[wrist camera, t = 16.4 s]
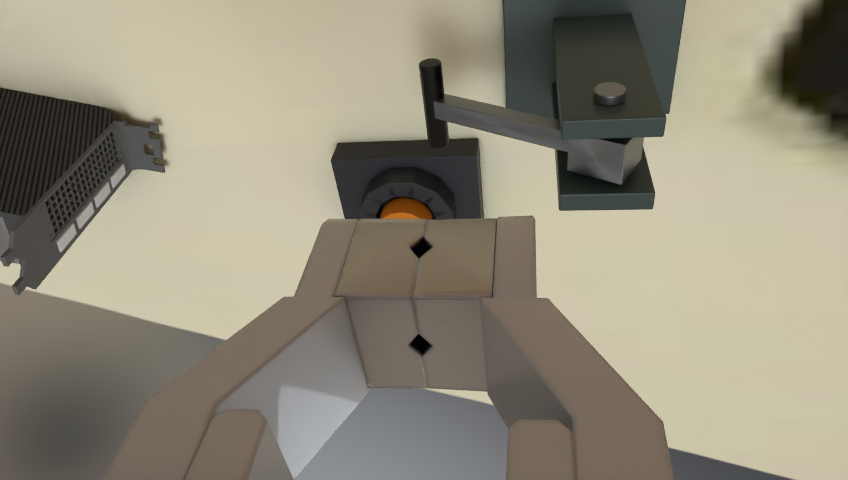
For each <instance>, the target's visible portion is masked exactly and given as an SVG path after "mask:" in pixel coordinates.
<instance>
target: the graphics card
mask: <svg viewBox="0 0 848 480" xmlns="http://www.w3.org/2000/svg"><path fill="white" fill-rule="evenodd" d="M149 131H153V132H159V128H158V124H155V123H150V127H145V126H139V125H129V124H126V120H123V121H116V120H115V117H114V116H113V115H112V114H111V113H110V112H109V111H108V110H106V109H104V108H100V107H95V106H90V105H86V104H81V103H76V102H75V103H74V102H71V101H70V102H69V101H64V100H58V99H54V98H49V97H45V96H43V97H42V96H39V95H38V96H37V95H32V94H26V93H22V92H17V91H13V90H11V91H10V90H7V89H6V90H5V89H0V260H1V261H2V263H3V266H7V267H8V266H9V265H10V264H11V263H18V264H20V265H21V270H20V277H19V279H18V280H17V281H16V282H15V283H14V284H13V286H12V288H13V290H14V293H15V294H17V295H20V294H21V292H22V291H23V290H24V289H25V288H26V286H27V287H30V288H32V289H37V287H38V286H39V285H40V284H41V282H42V281H43V280H44V279H45V277H46V276H47V275H48V274H49V273H50V271H51V270H52V269H53V268H54V266H55V265H56V264H57V263H58V261H59V260H60V259H61V258H62V256H63V255H64V254H65V253H66V252H67V250H68V249H69V248H70V247H71V245H72V244H73V243H74V242H75V240H76V239H77V238H78V237H79V235H80V234H81V233H82V232H83V231H84V229H85V228H86V227H87V226H88V224H89V223H90V222H91V221H92V219H93V218H94V217H95V216H96V214H97V213H98V212H99V211H100V210H101V208H102V207H103V206H104V205H105V203H106V202H107V201H108V200H109V198H110V197H111V196H112V195H113V194H114V192H115V191H116V190H117V189H118V187H119V186H120V185H121V184H122V182H123V181H124V180H125V179H126V178H127V177H128V175H129V174H130V173H131V171H132V170H135V169H144V170H151V171H157V172H162V173H165V167H164V165H163V164H158V163H155V162H154V158H159V159H163V154H162V147H161V141H160V138H155V137H151V136H150V133H149ZM144 144H148V145H152V146H153V151H154V154H149V153H146V152H145V147H144Z"/></svg>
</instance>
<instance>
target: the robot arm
mask: <svg viewBox="0 0 848 480" xmlns="http://www.w3.org/2000/svg"><path fill="white" fill-rule="evenodd" d="M368 388H434V389H452V390H470V391H488V396H489V397H490V399H491V401H492V402H493V404H494V406H495V407H496V409H497V410H498V412H499V414H500V415H501V417H502V419H503V420H504V422H505V424H506V426H507V427H508V448H507V472H506V480H674V477H673V472H672V467H671V461H670V456H669V451H668V446H667V440H666V435H665V430H664V424H663V421H662V420H661V419H660V418H659V417H658V416H657V415H656V414H655V413H654V412H653V411H652V410H651V408H650V407H649V406H648V405H647V404H646V403H645V402H644V401H643V400H642V399H641V398H640V397H639V396H638V395H637V393H636V392H635V391H634V390H633V389H632V388H631V387H630V386H629V385H628V384H627V383H626V382H625V381H624V380H623V378H622V377H621V376H620V375H619V374H618V373H617V372H616V371H615V370H614V369H613V368H612V367H611V366H610V364H609V363H608V362H607V361H606V360H605V359H604V358H603V357H602V356H601V355H600V354H599V353H598V352H597V351H596V349H595V348H594V347H593V346H592V345H591V344H590V343H589V342H588V341H587V340H586V339H585V338H584V337H583V336H582V334H581V333H580V332H579V331H578V330H577V329H576V328H575V327H574V326H573V325H572V324H571V323H570V322H569V321H568V319H567V318H566V317H565V316H564V315H563V314H562V313H561V312H560V311H559V310H558V309H557V308H556V307H555V306H554V304H553V303H552V302H551V301H550V300H549V299H548V298H537V291H536V240H535V219H534V217H533V216H514V217H498V219H497V218H486V219H434V220H428V219H361V220H359V219H328V220H326V221H325V222H324V223H323V224H322V225H321V228H320V230H319V233H318V236H317V238H316V241H315V243H314V246H313V249H312V251H311V254H310V256H309V259H308V262H307V264H306V267H305V269H304V272H303V275H302V277H301V280H300V282H299V285H298V288H297V290H296V293H295V295H294V297H283V298H282V299H280V300H279V301H278V302H276V303H275V304H274V305H272V306H271V307H270V308H269V309H267V310H266V311H265V312H263V313H262V314H261V315H259V316H258V317H257V318H255V319H254V320H253V321H251V322H250V323H249V324H247V325H246V326H245V327H243V328H242V329H241V330H239V331H238V332H237V333H235V334H234V335H233V336H231V337H230V338H229V339H227V340H226V341H225V342H224V343H222V344H221V345H220V346H218V347H217V348H216V349H214V350H213V351H212V352H210V353H209V354H208V355H206V356H205V357H204V358H202V359H201V360H200V361H198V362H197V363H196V364H194V365H193V366H192V367H190V368H189V369H188V370H187V371H185V372H184V373H182V374H181V375H180V376H179V377H177V378H176V379H174V380H173V381H172V382H171V383H169V384H168V385H167V386H166V387H164V388H163V389H161V390H160V391H159V392H157V393H156V394H155V395H153V396H152V397H151V398H149V399H148V400H147V401H145V402H144V404H143V406H142V407H141V409H140V411H139V413H138V415H137V417H136V418H135V420H134V422H133V424H132V426H131V428H130V430H129V431H128V433H127V435H126V437H125V439H124V441H123V443H122V444H121V446H120V448H119V450H118V452H117V454H116V456H115V457H114V459H113V461H112V463H111V465H110V467H109V468H108V470H107V472H106V474H105V476H104V478H103V480H294V479H295V478H296V476H297V475H298V474H299V473H300V472H301V471H302V469H303V468H304V467H305V466H306V465H307V464H308V463H309V461H310V460H311V459H312V458H313V457H314V455H315V454H316V453H317V452H318V451H319V450H320V448H321V447H322V446H323V445H324V444H325V443H326V441H327V440H328V439H329V438H330V437H331V436H332V434H333V433H334V432H335V431H336V430H337V429H338V427H339V426H340V425H341V424H342V423H343V422H344V420H345V419H346V418H347V417H348V416H349V414H350V413H351V412H352V411H353V410H354V409H355V407H356V406H357V405H358V404H359V403H360V402H361V401H362V399H363V398H364V397H365V396H366V394H367V393H368V392H369V389H368Z"/></svg>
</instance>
